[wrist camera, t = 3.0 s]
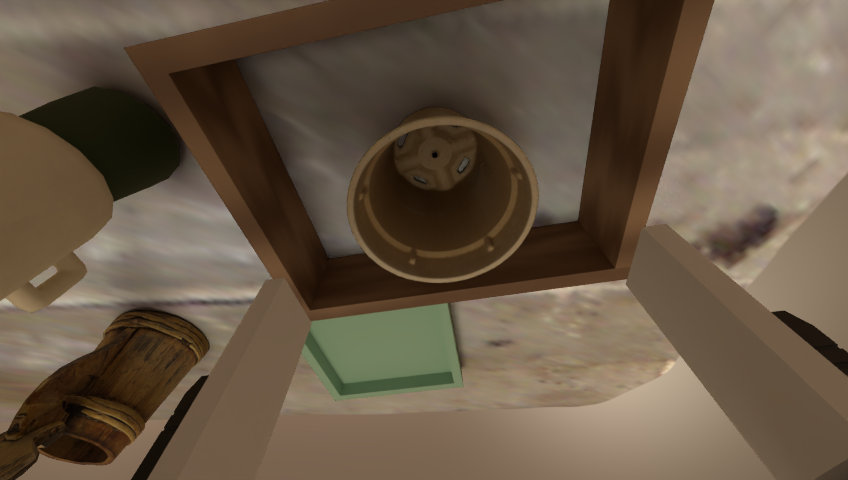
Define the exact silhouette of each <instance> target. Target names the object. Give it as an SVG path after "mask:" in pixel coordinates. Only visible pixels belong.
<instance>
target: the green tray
mask: <svg viewBox="0 0 848 480" xmlns="http://www.w3.org/2000/svg"><path fill="white" fill-rule="evenodd" d="M311 323H312V325H311V327H310V330H309V333H308V336H307V338H306V341H305V344H304V347H303V350H302V352H301V353H302V355H303V356H304V358H305V359H306V360H307V362H308V363H309V365H310V366H311V367H312V369H313V370H314V372H315V373H316V374H317V376H318V377H319V379H320V380H321V381H322V383H323V384H324V386H325V387H326V388H327V390H328V391H329V393H330V394H331V395H332V397H333V398H334V400H335V401H336V400H346V399H355V398H364V397H373V396H382V395H392V394H401V393H410V392H419V391H428V390H438V389H447V388H456V387H463V379H462V371H461V364H460V359H459V354H458V349H457V343H456V338H455V333H454V327H453V322H452V317H451V312H450V306H449V303H444V304H437V305H429V306H422V307H414V308H407V309H399V310H392V311H385V312H377V313H370V314H362V315H355V316H347V317H340V318H332V319H325V320H317V321H311Z"/></svg>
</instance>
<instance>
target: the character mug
mask: <svg viewBox="0 0 848 480" xmlns="http://www.w3.org/2000/svg"><path fill="white" fill-rule="evenodd" d="M179 150H180V147H179V145H178V143H177V141H176V139H175V137H174V135H173V133H172V131H171V129H170V127H169V125H168V124H167V123H166V122H164V121H163V120H162V119H161V118H160V117H159V116H158V115H157V114H156V113H155V112H154V111H153V110H152V109H150V108H149V107H148V106H147V105H145V104H143V103H141V102H139V101H137V100H135V99H133V98H132V97H130V96H128V95H126V94H124V93H122V92H120V91H115V90H110V89H104V88H99V87H91V88H89V89H86V90H83V91H80V92H77V93H74V94H72V95H69V96H66V97H63V98H60V99H58V100H55V101H52V102H49V103H47V104H45V105H43V106H41V107H38V108H36V109H34V110H32V111H29V112H27V113H25V114H23V115H20V116H16V115H13V114H11V113H7V112H0V301H1V300H2V299H4V298H6V299H8V300H9V301H10V302H11V303H12V304H14V305H15V306H16V307H18V308H20V309H22V310H24V311H27V312H30V313H33V312H35V311H37V310H39V309H42V308H44V307H46V306H48V305H49V304H51V303H52V302H53V301H55V300H56V299H57V298H58V297H60V296H61V295H62V294H64V293H65V292H66V291H67V290H69V289H70V288H71V287H72V286H74V285H75V284H76V283H78V282H79V281H80V280H81V279H83V277H84V276H85V274H86V273H87V269H86V267H85V265H84V263H83V262H82V261H81V260H80V259H79V258H78V257H77V256H76V254H75V253H74V252H73V251H74V250H75V249H77V248H78V247H80V246H81V245H83V244H84V243H86V242H87V241H88V240H90V239H91V238H93V237H94V236H95V235H96V234H97V233H98V232H99V231H100V230H101V229H102V228H103V227H104V226H105V225H106V223H107V222H108V221H109V220H110V219H111V218H112V211H113V202H114V201H117V200H119V199H121V198H124V197H126V196H129V195H131V194H134V193H136V192H139V191H141V190H144V189H146V188H149V187H151V186H153V185H155V184H157V183H159V182H161V181H164V180H166V179H168V178H169V177H170V176H171V175H172V173H173V172H174V171H175V170H176V168H177V167H178V166H179ZM52 265H53V266H54V267H55V268H56V269H57V273H56V274H55V275H53V276H52V277H51V278H49V279H48V280H46V281H45V282H43V283H42V284H41V285H39V286H38V287H37V288H35V287H34V286H33V285H32V284H31V283H30V282H29V281H30V280H31V279H33V278H34V277H36V276H37V275H39V274H40V273H42V272H43V271H45V270H46V269H48V268H49V267H50V266H52Z"/></svg>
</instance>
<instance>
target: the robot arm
mask: <svg viewBox="0 0 848 480" xmlns="http://www.w3.org/2000/svg"><path fill="white" fill-rule="evenodd" d="M626 285H627V287H628V288H629V289H630V290H631V292H632V293H633V294H634V296H635V297H636V298H637V300H638V301H639V302H640V303H641V305H642V306H643V307H644V309H645V310H646V311H647V313H648V314H649V315H650V316H651V318H652V319H653V320H654V322H655V323H656V324H657V326H658V327H659V328H660V329H661V331H662V332H663V333H664V335H665V336H666V337H667V339H668V340H669V341H670V342H671V344H672V345H673V346H674V348H675V349H676V350H677V352H678V353H679V354H680V356H681V357H682V358H683V359H684V361H685V362H686V363H687V365H688V366H689V367H690V368H691V370H692V371H693V372H694V374H695V375H696V376H697V378H698V379H699V380H700V381H701V383H702V384H703V385H704V387H705V388H706V389H707V391H708V392H709V393H710V395H711V396H712V397H713V398H714V400H715V401H716V402H717V404H718V405H719V406H720V408H721V409H722V410H723V411H724V413H725V414H726V415H727V417H728V418H729V419H730V421H731V422H732V423H733V425H734V426H735V427H736V428H737V430H738V431H739V432H740V434H741V435H742V436H743V438H744V439H745V440H746V441H747V443H748V444H749V445H750V447H751V448H752V449H753V450H754V452H755V453H756V454H757V455H758V457H759V458H760V460H761V461H762V462H763V464H764V465H765V466H766V467H767V469H768V470H769V471H770V473H771V474H772V475H773V477H774V478H775V479H776V480H848V353H847V352H846V351H845V350H844V349H840V348H838V346H837V344H836V343H835V342H834V341H832V340H831V339H830V338H829V337H827V336H826V335H825V334H823V333H822V332H821V331H820V330H818V329H817V328H816V327H815V326H813V325H811V324H809V323H807V322H805V321H803V320H801V319H800V318H798V317H796V316H794V315H792V314H790V313H788V312H786V311H776V312H770V311H769V310H768V309H767V308H765V307H764V306H763V305H762V304H761V303H759V302H758V301H757V300H756V299H755V298H753V297H752V296H751V295H750V294H749V293H748V292H746V291H745V290H744V289H743V288H742V287H740V286H739V285H738V284H737V283H736V282H734V281H733V280H732V279H731V278H730V277H729V276H727V275H726V274H725V273H724V272H723V271H721V270H720V269H719V268H718V267H717V266H715V265H714V264H713V263H712V262H711V261H709V260H708V259H707V258H706V257H705V256H704V255H702V254H701V253H700V252H699V251H698V250H696V249H695V248H694V247H693V246H692V245H690V244H689V243H688V242H687V241H686V240H684V239H683V238H682V237H681V236H680V235H679V234H677V233H676V232H675V231H674V230H673V229H671V228H670V227H669V226H668V225H667V224H661V225H654V226H647V227H642V230H641V233H640V237H639V240H638V244H637V247H636V251H635V254H634V257H633V261H632V264H631V268H630V271H629V275H628V278H627V282H626ZM311 325H312V323H311V321H310V319H309V318H308V316H307V314H306V313H305V311H304V309H303V308H302V306H301V304H300V303H299V301H298V299H297V298H296V296H295V294H294V293H293V291H292V289H291V288H290V286H289V284H288V283H287V281H286V280H285V278H279V279H272V280H266V281H265V283H264V284H263V286H262V288H261V289H260V291H259V293H258V294H257V296H256V298H255V299H254V301H253V303H252V305H251V306H250V308H249V310H248V311H247V313H246V315H245V316H244V318H243V320H242V321H241V323H240V325H239V326H238V328H237V330H236V331H235V333H234V335H233V336H232V338H231V340H230V341H229V343H228V345H227V346H226V348H225V350H224V351H223V353H222V355H221V357H220V358H219V360H218V362H217V363H216V365H215V367H214V368H213V370H212V372H211V373H210V375H208V376H202V377H201V378H200V379H199V380H198V381H197V382H196V383H195V384H194V385H193V386H192V387H191V388H190V389H189V390H188V391H187V392H186V393H185V395H184V396H183V398H182V400H181V401H180V403H179V404H178V406H177V408H176V409H175V411H174V415H171V417H170V419H169V420H168V422H167V424H166V425H165V427H164V431H162V432H161V433H160V435H159V436H158V438H157V439H156V441H155V442H154V444H153V446H152V447H151V449H150V450H149V452H148V454H147V455H146V457H145V458H144V460H143V461H142V463H141V465H140V466H139V468H138V469H137V471H136V473H135V474H134V476H133V477H132V479H131V480H256V477H257V474H258V471H259V468H260V466H261V463H262V460H263V458H264V455H265V452H266V449H267V446H268V443H269V441H270V438H271V435H272V433H273V430H274V427H275V424H276V422H277V419H278V416H279V413H280V410H281V408H282V405H283V402H284V399H285V397H286V394H287V391H288V388H289V386H290V383H291V380H292V377H293V374H294V372H295V369H296V366H297V363H298V361H299V358H300V355H301V352H302V350H303V347H304V344H305V341H306V338H307V336H308V333H309V330H310V327H311Z"/></svg>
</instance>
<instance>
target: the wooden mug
mask: <svg viewBox="0 0 848 480" xmlns="http://www.w3.org/2000/svg"><path fill="white" fill-rule="evenodd" d="M208 350H209V343H208V341H207V339H206V338H205V336H204V335H203V334H202V333H201V332H200V331H199V330H198V329H196V328H195V327H194V326H193V325H191V324H190V323H188V322H186V321H184V320H182V319H180V318H178V317H174V316H171V315H168V314H165V313H160V312H155V311H133V312H128V313H125V314H123V315H120V316H119V317H117V318H116V319H115V320H114V321H113V322H112V323H111V325H110V326H109V327H108V328H107V329H106V330H105V332H104V333H103V340H102V341H101V343H100V344H99V345H98V347H97V348H96V349H95V351H93V352H91V353H89V354H87V355H84V356H82V357H80V358H78V359H76V360H74V361H72V362H70V363H68V364H67V365H65V366H63V367H61V368H59V369H58V370H57V371H56V372H54V373H53V374H52V375H50V376H49V377H48V378H47V379H45V380H44V381H43V382H42V383H41V384H40V385H39V386H38V387H37V388H36V389H35V390H34V391H33V392H32V394H31V395H30V396H29V397H28V398H27V399H26V400H25V402H24V403H23V405H22V406H21V408H20V409H19V411H18V412H17V414H16V416H15V417H14V419H13V421H12V423H11V425H10V427H9V429H8V431H6V432H4V433H2V434H0V480H15V479H17V478H18V477H19V476H21V475H22V474H24V473H25V472H26V470H28V469H29V468H30V467H31V466H32V465H33V464H34V463H35V462H36V461H37V459H38V456H39V453H40V454H42V455H45V456H47V457H49V458H52V459H56V460H60V461H65V462H70V463H75V464H81V465H87V464H88V465H107V464H110V463H111V462H112V461H113V460H114V459H115V458H116V457H117V456H118V455H119V454H120V453H121V451H122V450H123V449H124V448H125V447H126V446H127V445H130V444H131V443H132V442H133V441H134V440H135V439H136V438H137V437H138V436H139V435H140V434H141V432H142V431H143V430H144V428H145V423H146V422H147V421H148V419H149V418H150V417H151V416H152V414H153V413H154V412H155V411H156V410H157V408H158V407H159V406H160V405H161V404H162V402H163V401H164V400H165V399H166V398H167V397H168V395H169V394H170V393H171V392H172V391H173V389H174V388H175V387H176V386H177V385H178V384H179V382H180V381H181V380H182V379H183V378H184V376H185V375H186V374H187V373H188V372H189V371H190V369H191V368H192V367H194V366H195V365H196V364H197V363H198V362H199V361H200V360H201V359H202V358H203V357H204V356H205V355H206V353H207V352H208Z"/></svg>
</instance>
